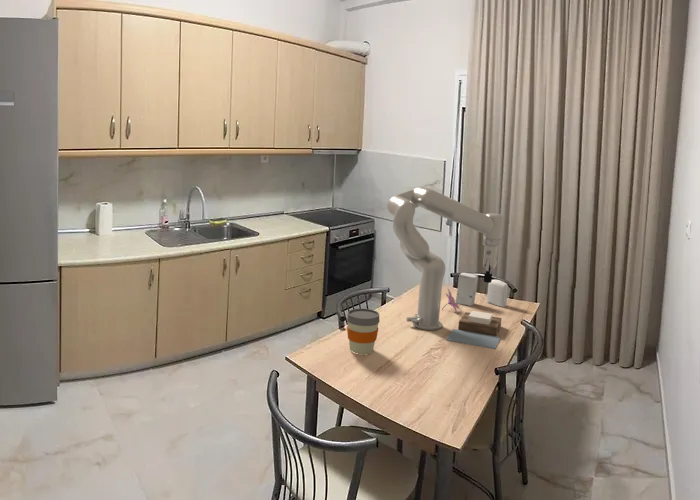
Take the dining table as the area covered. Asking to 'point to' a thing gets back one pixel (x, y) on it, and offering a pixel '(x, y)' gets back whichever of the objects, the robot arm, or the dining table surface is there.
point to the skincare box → (466, 289)
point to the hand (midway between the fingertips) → (487, 281)
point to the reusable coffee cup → (362, 330)
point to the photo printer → (497, 293)
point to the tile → (480, 317)
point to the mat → (473, 338)
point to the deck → (480, 326)
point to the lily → (451, 301)
